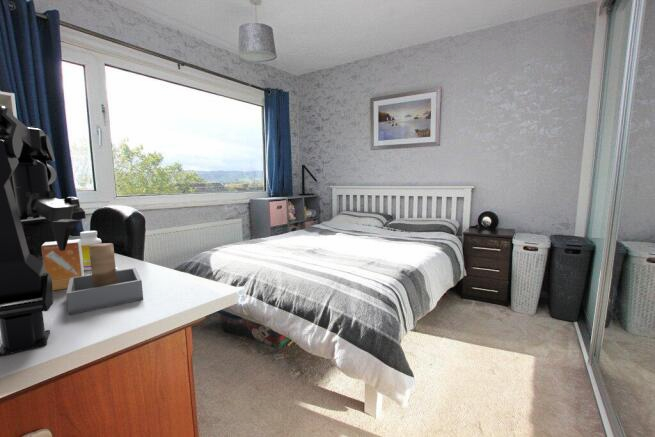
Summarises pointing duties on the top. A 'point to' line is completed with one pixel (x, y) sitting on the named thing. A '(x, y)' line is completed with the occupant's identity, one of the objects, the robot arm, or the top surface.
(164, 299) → the top surface
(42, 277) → the robot arm
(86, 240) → the supplement bottle
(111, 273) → the brown cylinder
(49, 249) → the small box
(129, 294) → the grey tote
